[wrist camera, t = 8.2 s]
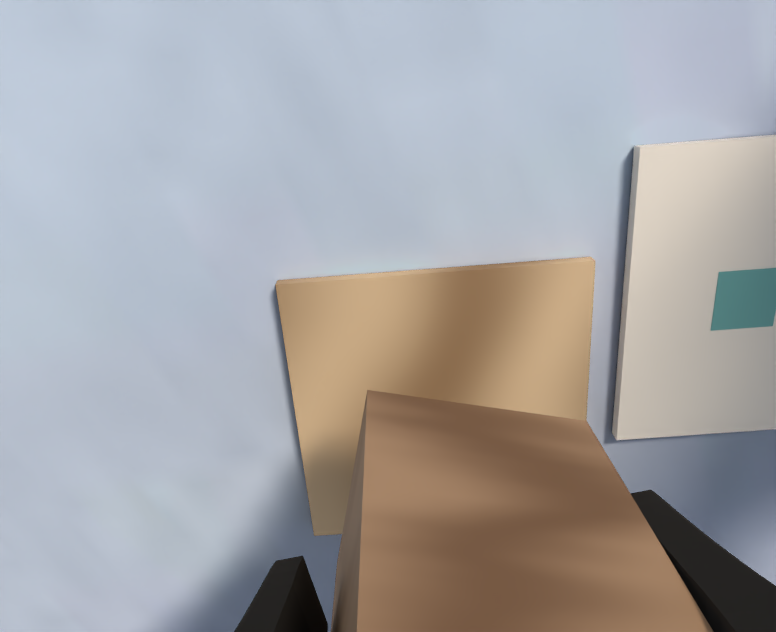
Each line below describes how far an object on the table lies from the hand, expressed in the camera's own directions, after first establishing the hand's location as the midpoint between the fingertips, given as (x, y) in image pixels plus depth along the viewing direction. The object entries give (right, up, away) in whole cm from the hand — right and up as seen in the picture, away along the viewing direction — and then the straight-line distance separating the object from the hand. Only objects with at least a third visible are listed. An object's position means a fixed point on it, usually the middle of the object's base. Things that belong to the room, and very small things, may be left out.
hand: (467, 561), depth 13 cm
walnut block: (0, +1, +2) cm, 2 cm away
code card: (+10, +6, +5) cm, 12 cm away
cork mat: (0, +2, +6) cm, 6 cm away
